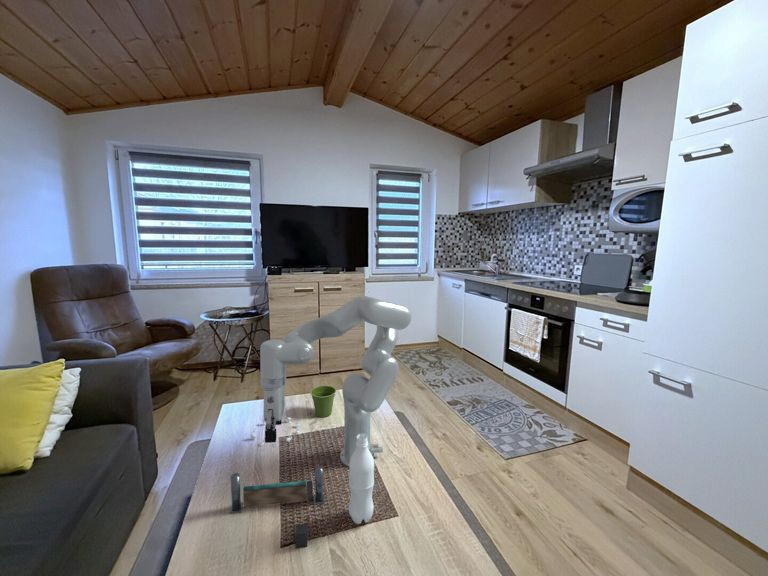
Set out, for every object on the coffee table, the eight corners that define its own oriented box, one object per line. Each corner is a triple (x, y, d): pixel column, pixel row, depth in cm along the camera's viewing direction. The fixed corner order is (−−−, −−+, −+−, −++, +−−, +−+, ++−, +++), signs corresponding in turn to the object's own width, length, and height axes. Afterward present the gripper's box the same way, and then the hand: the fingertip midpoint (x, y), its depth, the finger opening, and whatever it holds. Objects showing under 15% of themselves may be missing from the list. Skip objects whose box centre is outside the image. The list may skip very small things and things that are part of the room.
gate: (312, 496, 100) (312, 478, 100) (312, 500, 99) (312, 482, 98) (245, 503, 97) (244, 485, 96) (243, 507, 96) (242, 489, 95)
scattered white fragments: (248, 452, 123) (248, 442, 122) (253, 424, 142) (253, 415, 141) (301, 444, 128) (301, 435, 128) (299, 418, 147) (299, 410, 147)
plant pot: (309, 409, 155) (309, 386, 153) (334, 406, 158) (334, 384, 157) (311, 422, 144) (311, 398, 142) (338, 418, 147) (338, 395, 146)
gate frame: (324, 495, 102) (324, 464, 100) (323, 544, 85) (323, 508, 84) (232, 505, 97) (231, 472, 96) (212, 559, 81) (210, 520, 79)
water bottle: (360, 503, 99) (361, 426, 96) (378, 515, 95) (380, 435, 91) (343, 517, 94) (343, 437, 90) (361, 532, 89) (362, 447, 86)
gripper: (281, 392, 92) (281, 449, 94) (289, 370, 109) (289, 418, 111) (253, 393, 91) (254, 450, 93) (266, 370, 108) (266, 419, 110)
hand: (273, 432), depth 102 cm, fingers open, 9 cm apart
